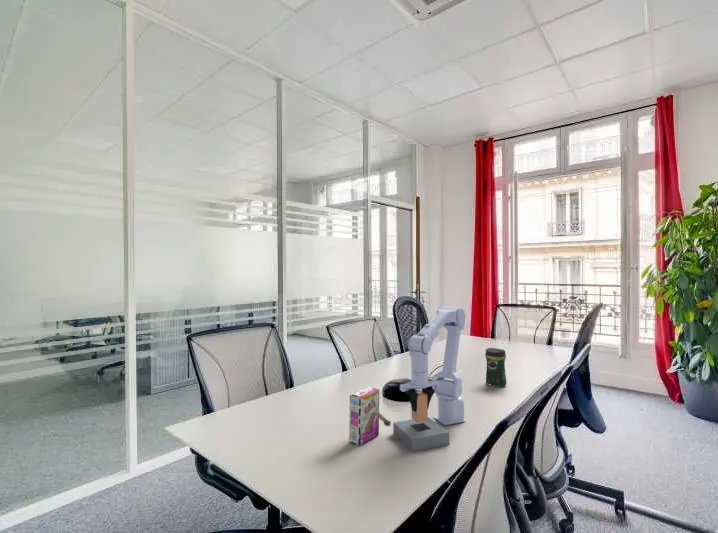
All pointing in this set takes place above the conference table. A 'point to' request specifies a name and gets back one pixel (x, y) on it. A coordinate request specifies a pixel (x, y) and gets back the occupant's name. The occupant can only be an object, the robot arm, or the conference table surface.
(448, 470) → the conference table surface
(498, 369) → the coffee jar
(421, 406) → the peg
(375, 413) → the candy bar box
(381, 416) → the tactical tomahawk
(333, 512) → the conference table surface
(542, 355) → the conference table surface
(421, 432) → the socket block
